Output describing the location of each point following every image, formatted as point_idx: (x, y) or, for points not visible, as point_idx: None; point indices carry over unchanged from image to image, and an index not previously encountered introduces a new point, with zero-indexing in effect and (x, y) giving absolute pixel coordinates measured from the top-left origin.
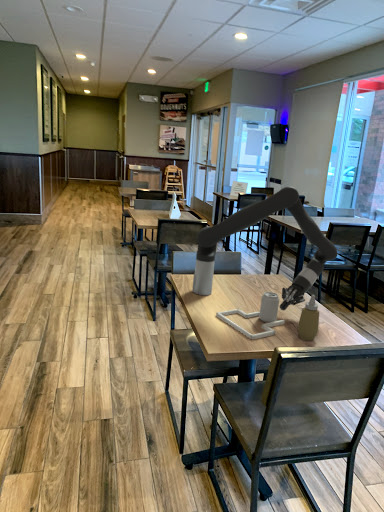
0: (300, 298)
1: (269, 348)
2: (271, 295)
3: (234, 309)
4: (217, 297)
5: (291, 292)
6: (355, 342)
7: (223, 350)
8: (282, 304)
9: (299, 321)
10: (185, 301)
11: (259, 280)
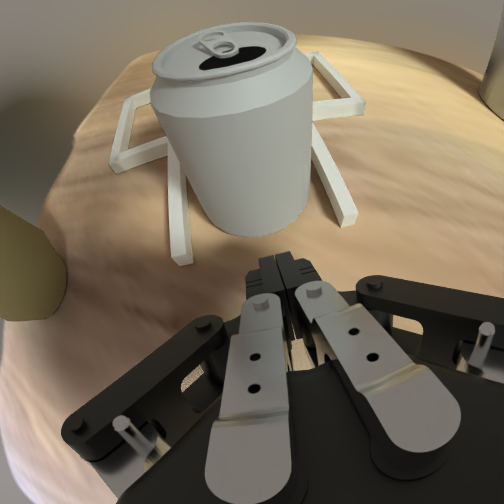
0: (88, 402)
1: (76, 139)
2: (204, 46)
3: (354, 90)
4: (486, 122)
5: (351, 402)
6: (4, 446)
7: (129, 68)
8: (282, 265)
9: (13, 214)
10: (416, 52)
11: None
